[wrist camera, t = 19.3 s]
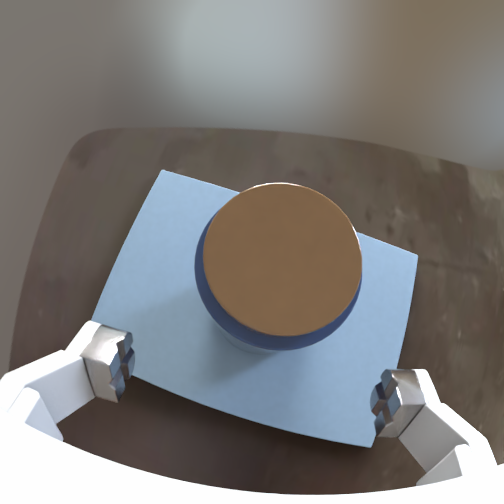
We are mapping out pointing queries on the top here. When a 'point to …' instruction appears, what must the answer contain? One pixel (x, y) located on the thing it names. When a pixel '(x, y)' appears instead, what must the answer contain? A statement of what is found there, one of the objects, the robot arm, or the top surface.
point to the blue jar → (278, 268)
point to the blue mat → (231, 358)
